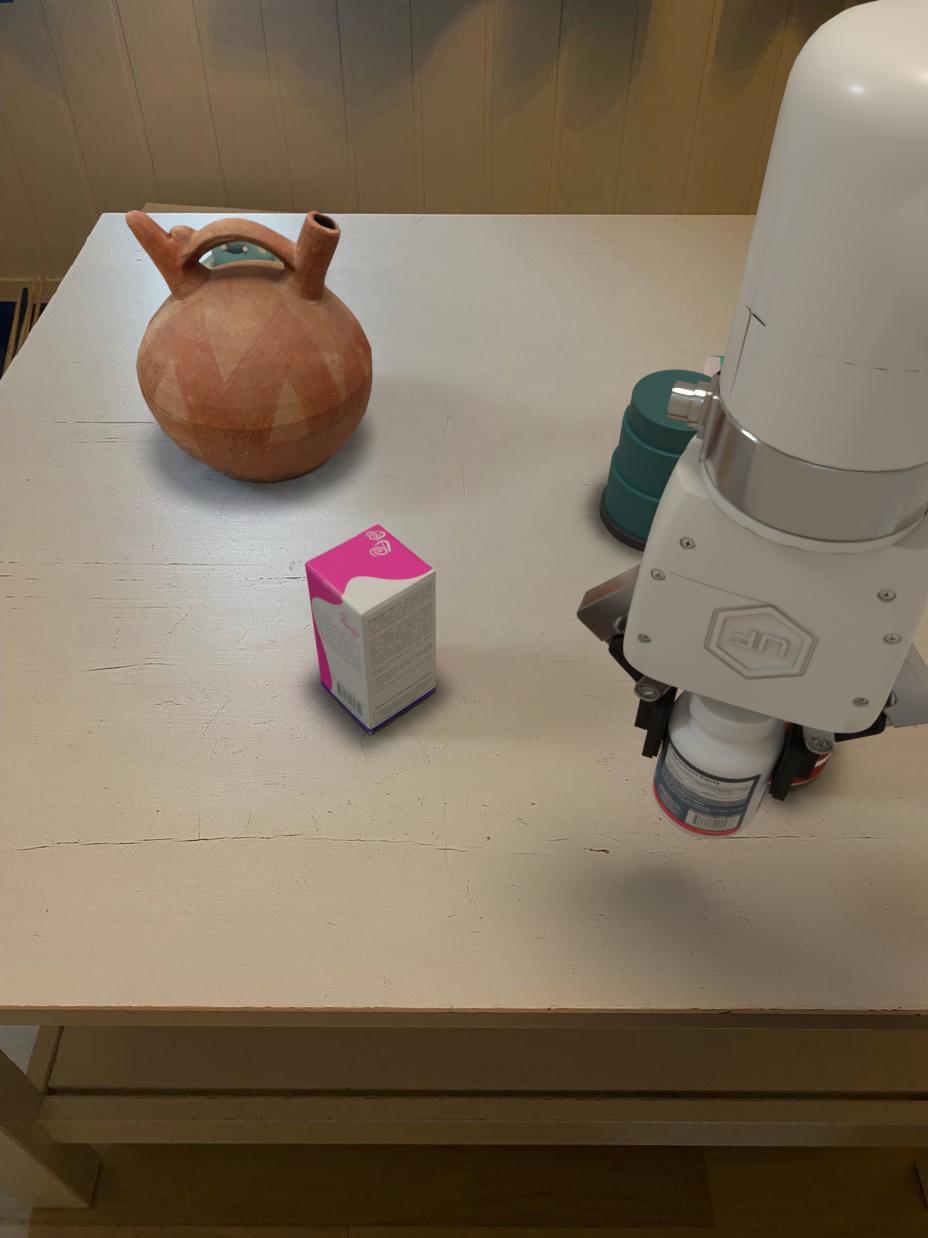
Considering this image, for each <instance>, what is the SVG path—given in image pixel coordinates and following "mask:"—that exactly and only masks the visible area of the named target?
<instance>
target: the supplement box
mask: <svg viewBox="0 0 928 1238" xmlns="http://www.w3.org/2000/svg"><path fill="white" fill-rule="evenodd" d="M304 568H305V573H306V581H307V589H308V595H309V596H308V597H309V603H310V611H311V617H312V626H313V632H314V639H315V646H316V654H317V660H318V668H319V670H318V671H319V676H320V677H319V678H320V684H321V686H322V687H323V688H324V689H325V690H326V691H327V692H328V693H329V695H330V696H331V697H332V698H333V699H334V700H335V701H336V702H337V703H338V704H339V705H340V706H341V707H342V708H343V709H344V710H345V711H346V712H347V713H348V714H349V715H350V716H351V717H352V718H353V719H354V721H356V722H357V723H358V724H359V725H360V726H361V727H362V728H363V729H364V731H366V732H367V734H368V735H372V734H374V733H376V732H377V731H379V730H380V729H382V728H383V727H385V726H386V725H388V724H389V723H390V722H392V721H393V720H395V719H396V718H398V717H400V716H401V715H402V714H404V713H405V712H407V711H408V710H410V709H411V708H413V707H415V706H416V705H418V704H419V703H421V702H422V701H423V700H425V699H426V698H428V697H429V696H431V695H432V694H434V693H435V692H436V690H437V653H436V651H437V635H436V634H437V632H436V630H437V623H436V622H437V619H436V617H437V614H436V613H437V612H436V611H437V609H436V607H437V604H436V603H437V602H436V601H437V600H436V599H437V598H436V595H437V594H436V593H437V591H436V590H437V589H436V583H437V582H436V581H437V579H436V578H437V577H436V576H437V574H436V569H434V568H433V567H431V565H429V564H428V563H426V561H424V560H423V559H422V558H420V556H418V555H417V554H416V553H415V552H413V550H411V549H410V548H408V547H407V546H406V545H404V543H402V542H401V541H400V540H399V539H397V538H396V537H395V536H394V535H392V533H390V532H389V531H388V530H387V529H385V528H384V527H383V526H382V525H380V523H376V524H375V525H372V526H371V527H368V528H367V529H365V530H364V531H361V532H360V533H358V534H356V535H354V536H353V537H351V538H349V539H347V540H346V541H344V542H342V543H340V544H338V545H336V546H334V547H332V548H331V549H328V550H326V551H325V552H323V553H321V554H319V555H317V556H315V557H313V558H311V559H309V560H307V561H306V562H304Z"/></svg>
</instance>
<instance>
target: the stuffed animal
mask: <svg viewBox="0 0 928 1238" xmlns="http://www.w3.org/2000/svg"><path fill="white" fill-rule="evenodd" d="M210 252H211V254H210V255H208V257H206V258H205V259H204V260H202V261H201V262H200V263H201V264H203V265H204V266H206V267H207V268H209V269H211V268H213V267H216V266H219V265H223V264H227V263H231V262H236V261H243V260H267V261H275V262H280V263H282V262H281V261H280V260H279V259H278V258H276V257H275V256H274V255H272V254H271V253H270V252H268V251H266V250H264V249H263V248H261V247H259V246H256V245H253V244H251V243H248V242H230V243H227V244H224V245H221V246H219V247H216V248H214V249H212V250H211V251H210Z"/></svg>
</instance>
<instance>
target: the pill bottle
mask: <svg viewBox="0 0 928 1238" xmlns="http://www.w3.org/2000/svg"><path fill="white" fill-rule="evenodd" d="M785 735H786V732H785V725H784V721H783V720H782V719H779V718H775V717H772V716H768V715H765V714H762V713H758V712H755V711H752V710H748V709H745V708H742V707H738V706H735V705H732V704H728V703H725V702H722V701H719V700H715V699H712V698H709V697H706V696H702V695H699V694H696V693H693V692H690V691H686V690H683V691H682V692H681V693H679V695H678V696H677V698H675V702H674V704H673V705H672V708H671V711H670V714H669V717H668V721H667V725H666V729H665V733H664V737H663V740H662V743H661V747H660V750H659V753H658V756H657V761H656V765H655V770H654V774H653V779H652V794H653V799H654V802H655V804H656V807H657V809H658V810H659V812H660V814H661V815H662V816H663V818H664V819H666V821H667V822H668V823H669V824H670V825H672V826H673V827H675V828H676V829H677V830H679V831H680V832H682V833H684V834H686V835H689V836H692V837H694V838H697V839H702V840H710V841H711V840H723V839H728V838H731V837H733V836H735V835H738V834H739V833H742V831H744V830H746V828H747V827H749V825H750V824H751V823H752V822H753V820H754V819H755V817H756V815H757V812H758V811H759V809H760V807H761V804H762V801H763V799H764V796H765V793H766V791H767V788H768V785H769V781H770V779H771V776H772V774H773V772H774V769H775V767H776V765H777V763H778V760H779V758H780V756H781V753H782V750H783V747H784V743H785Z"/></svg>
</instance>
